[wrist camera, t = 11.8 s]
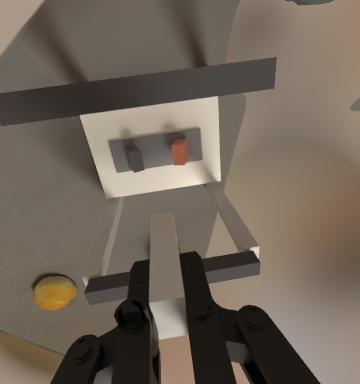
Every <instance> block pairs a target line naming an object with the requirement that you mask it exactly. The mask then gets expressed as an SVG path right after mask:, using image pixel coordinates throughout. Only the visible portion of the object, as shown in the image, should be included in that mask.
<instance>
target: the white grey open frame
mask: <svg viewBox="0 0 360 384" xmlns="http://www.w3.org/2000/svg"><path fill="white" fill-rule="evenodd" d="M80 118H81V121H82V125H83V128H84V131H85V134H86V137H87V140H88V143H89V146H90V149H91V153H92V156H93V159H94V162H95V165H96V168H97V171H98V174H99V177H100V181H101V184H102V187H103V190H104V193H105V196H106V199H109V198H111V200H110V202H109V205H108V208H107V210H106V213H105V216H104V218H103V221H102V224H101V226H100V229H99V232H98V235H97V237H96V240H95V243H94V245H93V248H92V251H91V253H90V256H89V259H88V262H87V264H86V267H85V270H84V272H83V275H82V279H83V281H84V283H85V285H86V287H87V284H88V281H89V279H90V278H96V277H102V276H106V272H107V268H108V264H109V260H110V256H111V252H112V248H113V244H114V240H115V236H116V232H117V228H118V224H119V220H120V216H121V212H122V208H123V204H124V197H123V196H128V195H135V194H141V193H147V192H154V191H160V190H166V189H173V188H179V187H185V186H192V185H198V184H205V183H206V189H207V191H208V193H209V194H210V196H211V198H212V200H213V202H214V204H215V206H216V208H217V210H218V212H219V214H220V216H221V218H222V220H223V222H224V224H225V226H226V228H227V230H228V231H229V233H230V236H231V237H232V239H233V241H234V243H235V245H236V247H237V249H238V251H239V253H240V252H246V251H251V250H253V251H254V253H255V254H256V256H257V258H259V245H258V244H257V242H256V240H255V239H254V237H253V236H252V235H251V233H250V231H249V230H248V228H247V227H246V225H245V224H244V222H243V221H242V219H241V218H240V216H239V215H238V213H237V212H236V210H235V208H234V207H233V206H232V204H231V202H230V201H229V199H228V198H227V197H226V195H225V193H224V192H223V190H222V189H221V187H220V186H219V184H218V183H217V181H221V179H220V148H219V117H218V96H216V97H209V98H201V99H194V100H187V101H180V102H172V103H165V104H158V105H151V106H143V107H136V108H129V109H122V110H114V111H107V112H100V113H93V114H86V115H80ZM177 139H187V141H188V151H189V159H188V161H187V162H186V164H185V165H177V166H174V160H173V153H172V146H171V145H172V144H173V143H174V142H175V141H176V140H177ZM131 146H136V147H137V148H139V149H140V150H141V153H142V158H143V163H144V168H145V170H143V171H140V172H136V173H134V172H133V171H132V170H131V169H130V168H129V165H128V161H127V157H126V153H125V149H124V148H126V147H131Z"/></svg>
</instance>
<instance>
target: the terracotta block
mask: <svg viewBox="0 0 360 384" xmlns="http://www.w3.org/2000/svg"><path fill="white" fill-rule="evenodd" d="M171 146H172V153H173V160H174V166H177V165H185V164H186V162H187V161H188V159H189V151H188V141H187V139H177V140H176V141H175V142H174V143H173V144H172V145H171Z"/></svg>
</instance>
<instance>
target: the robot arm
mask: <svg viewBox="0 0 360 384" xmlns="http://www.w3.org/2000/svg"><path fill="white" fill-rule="evenodd" d="M114 317H115V319H116V321H117V324H118V326H117V327H115V328H114V329H113V330H111V331H109V332H108V333H106V334H104V335H102V336H100V337H98V338H97V337H96V336H95V335H92V334H90V335H84V336H82V337H80V338H78V339H77V340H76V341H75V342H74V343H73V344H72V345H71V347H70V348H69V349H68V351H67V353H66V355H65V357H64V359H63V361H62V362H61V364H60V366H59V368H58V370H57V372H56V374H55V376H54V378H53V380H52V382H51V384H161V364H160V363H161V361H160V350H159V346H158V336H159V339H165V338H171V337H177V336H182V335H187V334H189V339H190V347H191V355H192V361H193V370H194V377H195V384H237V383H236V380H235V375H234V372H233V368H232V365H231V361H233V362H237V363H239V364H240V365H241V367H242V369H243V371H244V373H245V375H246V377H247V379H248V381H249V383H250V384H320V382H319V381H318V380H317V378H316V377H315V376H314V375H313V373H312V372H311V371H310V369H309V368H308V367H307V365H306V364H305V363H304V361H303V360H302V359H301V358H300V356H299V355H298V354H297V353H296V351H295V350H294V348H293V347H292V346H291V344H290V343H289V342H288V341H287V339H286V338H285V337H284V335H283V334H282V333H281V331H280V330H279V329H278V328H277V326H276V325H275V324H274V322H273V321H272V320H271V318H270V317H269V316H268V314H267V313H265V311H264V310H262V309H261V308H259V307H257V306H252V305H247V306H243V307H242V308H241V309H239V311H236V310H229V309H225V308H222V307H220V306H219V305H218V304H216V303H215V302H214V300H213V298H212V296H211V293H210V289H209V285H208V281H207V278H206V274H205V270H204V266H203V263H202V259H201V256H200V255H199V254H198V253H197V252H196V251H193V252H187V253H181V254H179V249H178V242H177V236H176V230H175V223H174V217H173V212H168V213H162V214H156V215H151V238H150V259H149V260H143V261H137V262H135V263H134V265H133V266H132V268H131V271H130V279H129V287H128V294H127V300H125V301H124V302H122V303H121V304H120V305H119V306H118V307H117V309H116V311H115V314H114Z"/></svg>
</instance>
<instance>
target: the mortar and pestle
mask: <svg viewBox="0 0 360 384" xmlns="http://www.w3.org/2000/svg"><path fill="white" fill-rule="evenodd" d="M286 1H294V2H295V3H296V4H298V5H315V4H324V3H328V2H331V1H333V0H286Z"/></svg>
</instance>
